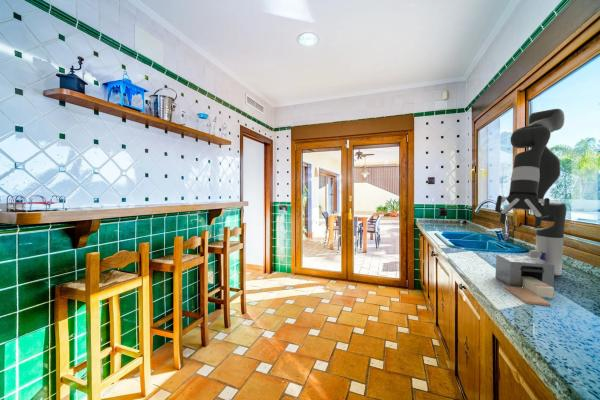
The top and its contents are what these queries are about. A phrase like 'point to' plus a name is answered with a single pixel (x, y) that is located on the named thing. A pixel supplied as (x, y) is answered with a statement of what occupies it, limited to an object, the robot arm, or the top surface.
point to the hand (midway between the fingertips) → (519, 226)
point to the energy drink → (538, 254)
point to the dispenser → (523, 269)
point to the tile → (527, 296)
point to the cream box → (537, 287)
